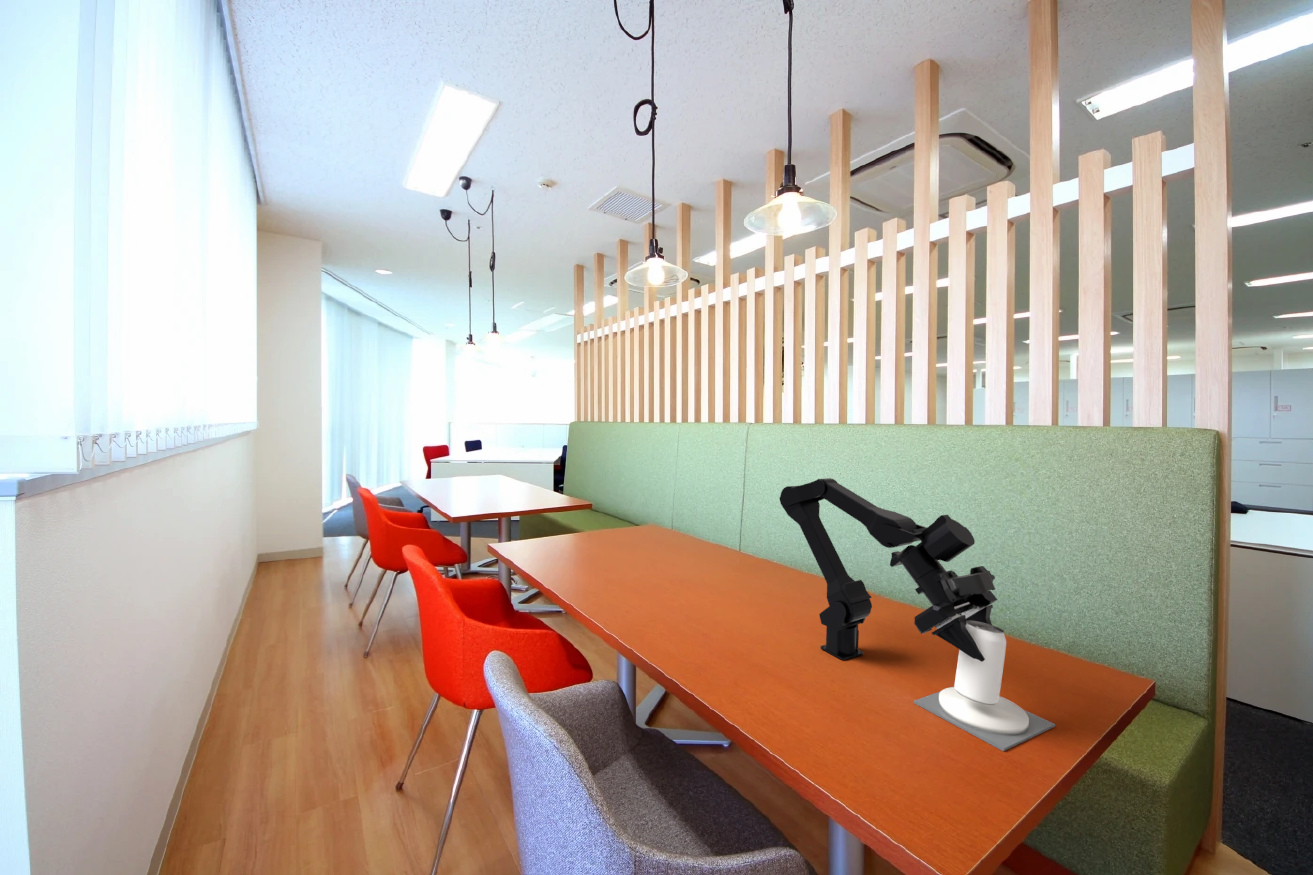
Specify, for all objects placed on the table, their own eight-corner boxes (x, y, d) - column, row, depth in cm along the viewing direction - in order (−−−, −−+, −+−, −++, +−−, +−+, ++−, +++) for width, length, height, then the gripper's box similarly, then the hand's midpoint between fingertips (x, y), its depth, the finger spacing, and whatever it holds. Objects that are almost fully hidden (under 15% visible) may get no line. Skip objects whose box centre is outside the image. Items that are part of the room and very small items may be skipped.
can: (949, 683, 91) (958, 616, 91) (990, 694, 89) (999, 625, 89) (960, 698, 85) (970, 626, 85) (1004, 710, 83) (1014, 636, 83)
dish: (1003, 751, 77) (1003, 742, 77) (913, 702, 91) (913, 695, 91) (1055, 726, 84) (1055, 718, 84) (964, 684, 97) (964, 677, 97)
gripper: (935, 558, 85) (1006, 649, 76) (987, 546, 95) (1055, 624, 86) (889, 591, 92) (949, 678, 83) (942, 576, 102) (1001, 652, 93)
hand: (991, 656), depth 86 cm, fingers closed on can, 6 cm apart
